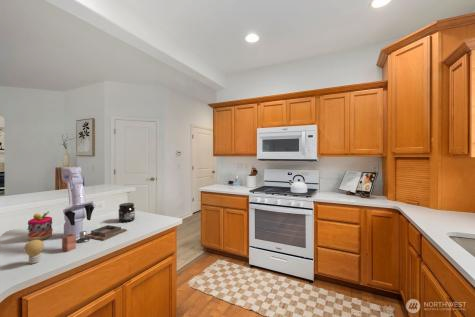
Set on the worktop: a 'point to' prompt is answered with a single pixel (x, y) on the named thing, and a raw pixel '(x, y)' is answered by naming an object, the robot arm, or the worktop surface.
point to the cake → (40, 227)
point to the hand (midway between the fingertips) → (80, 222)
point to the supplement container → (126, 212)
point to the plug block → (68, 242)
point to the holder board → (105, 232)
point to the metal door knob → (83, 237)
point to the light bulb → (34, 250)
